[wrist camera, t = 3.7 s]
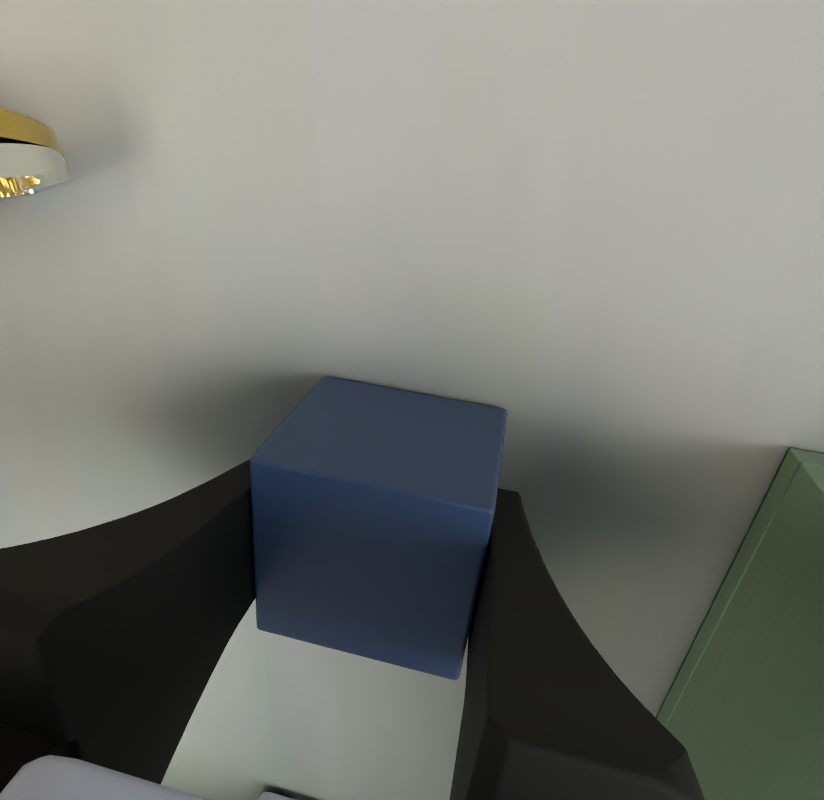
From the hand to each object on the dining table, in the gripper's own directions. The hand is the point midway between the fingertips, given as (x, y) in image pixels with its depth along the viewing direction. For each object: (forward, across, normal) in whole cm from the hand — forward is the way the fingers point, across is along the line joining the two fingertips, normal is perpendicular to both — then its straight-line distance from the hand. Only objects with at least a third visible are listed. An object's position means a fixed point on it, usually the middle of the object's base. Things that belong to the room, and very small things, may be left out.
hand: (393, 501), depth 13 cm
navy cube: (+1, 0, 0) cm, 1 cm away
